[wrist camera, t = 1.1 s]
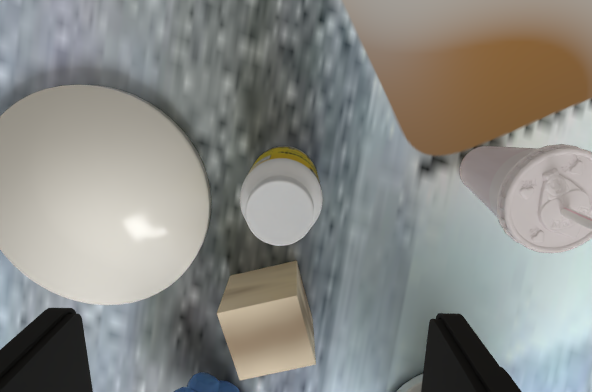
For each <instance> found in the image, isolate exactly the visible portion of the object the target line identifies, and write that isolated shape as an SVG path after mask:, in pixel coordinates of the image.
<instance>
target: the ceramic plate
mask: <svg viewBox="0 0 592 392" xmlns="http://www.w3.org/2000/svg"><path fill="white" fill-rule="evenodd" d="M210 217H211V192H210V185H209V181H208V177H207V173H206V170H205V167H204V165H203V162H202V160H201V158H200V156H199V154H198V152H197V150H196V148H195V147H194V145H193V144H192V142H191V141H190V139H189V138H188V137H187V135H186V134H185V132H184V131H183V130H182V129H181V128H180V127H179V126H178V125H177V124H176V123H175V122H174V121H173V120H172V119H171V118H170V117H169V116H167V115H166V114H165V113H164V112H163V111H161V110H160V109H158V108H157V107H155V106H154V105H152V104H151V103H149V102H148V101H146V100H144V99H142V98H140V97H138V96H136V95H133V94H130V93H128V92H125V91H122V90H119V89H114V88H110V87H105V86H96V85H63V86H57V87H52V88H47V89H44V90H41V91H38V92H35V93H32V94H30V95H28V96H27V97H25V98H23V99H21V100H19V101H18V102H16V103H15V104H14V105H12V106H11V107H10V108H8V109H7V110H6V111H5V112H4V113H3V114H2V115H1V116H0V250H1V251H2V252H3V254H4V255H5V256H6V257H7V258H8V259H9V260H10V262H11V263H12V264H13V265H14V266H15V267H16V268H17V269H19V270H20V271H21V272H22V273H23V274H24V275H25V276H27V277H28V278H30V279H31V280H32V281H34V282H35V283H37V284H38V285H40V286H42V287H43V288H45V289H47V290H49V291H51V292H53V293H55V294H58V295H60V296H62V297H65V298H68V299H72V300H75V301H78V302H83V303H89V304H98V305H120V304H126V303H132V302H136V301H139V300H143V299H146V298H148V297H151V296H153V295H155V294H157V293H159V292H161V291H162V290H164V289H166V288H167V287H169V286H170V285H171V284H173V283H174V282H175V281H176V280H177V279H179V278H180V277H181V275H182V274H183V273H184V272H185V271H186V270H187V269H188V268H189V266H190V265H191V263H192V262H193V260H194V259H195V257H196V255H197V254H198V252H199V250H200V248H201V246H202V244H203V242H204V240H205V237H206V234H207V231H208V228H209V223H210Z"/></svg>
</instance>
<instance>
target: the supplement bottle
mask: <svg viewBox="0 0 592 392" xmlns="http://www.w3.org/2000/svg"><path fill="white" fill-rule="evenodd" d="M322 203H323V198H322V189H321V185H320V182H319V178H318V174H317V171H316V168H315V166H314V164H313V162H312V161H311V159H310V158H309V157H308V156H307V155H306V154H305V153H304V152H302V151H301V150H299V149H296V148H294V147H289V146H278V147H274V148H271V149H269V150H267V151H266V152H264V153H263V154H262V155H260V156H259V158H258V159H257V160H256V161H255V163H254V164H253V166H252V168H251V170H250V171H249V173H248V175H247V177H246V178H245V180H244V182H243V185H242V188H241V192H240V207H241V211H242V214H243V216H244V218H245V220H246V222H247V224H248V226H249V228H250V230H251V231H252V233H253V234H254V235H255V236H256V237H257V238H258V239H260V240H261V241H263V242H265V243H268V244H271V245H276V246H284V245H290V244H293V243H295V242H297V241H299V240H300V239H302V238H303V237H304V236H305V235H306V234H307V233H308V231H309V230H310V228H311V227H312V226H313V225H314V223H315V222H316V221H317V219H318V217H319V215H320V212H321V209H322Z"/></svg>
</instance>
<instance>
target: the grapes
mask: <svg viewBox="0 0 592 392" xmlns="http://www.w3.org/2000/svg"><path fill="white" fill-rule="evenodd" d="M174 392H239V389H238V388H237V387H236V386H235V385H234V384H232V383H230V382H228V381H218V380H217V379H216V378H215V377H214V376H212V375H211V374H209V373H203V372H200V373H198V374H195V375H193V377H192V378H191V379H190V381H189V382H188V385H187V387H182V388H180V389H177V390H175V391H174Z"/></svg>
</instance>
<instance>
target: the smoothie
mask: <svg viewBox="0 0 592 392" xmlns="http://www.w3.org/2000/svg"><path fill="white" fill-rule="evenodd" d="M460 177H461V180H462V182H463V183H464V184H465V185H466V186H467V187H468V188H469V189H470V190H471V191H472V192H473V193H474V194H475V195H476V196H477V197H478V198H479V199H480V200H481V201H482V202H483V203H484V204H485V205H486V206H487V207H488V208H489V209H490V210H491V211H492V212H493V213H494V214H495V215H496V216H497V218H498V219H499V223H500V224H501V226H502V228H503V229H504V231H505V233H506V234H507V235H509V236H510V237H511V238H512V239H513V240H514V241H516V242H518V243H520V244H522V245H523V246H525V247H527V248H529V249H531V250H534V251H537V252H542V253H558V252H564V251H568V250H571V249H574V248H576V247H578V246H580V245H582V244H584V243H585V242H587V241H588V240H590V239H591V238H592V152H590V151H587V150H584V149H580V148H578V147H576V146H570V145H564V144H559V145H549V146H545V147H542V148H538V149H535V148H515V147H495V146H481V147H477V148H475V149H473V150H471V151H470V152H469V153H468V154H467V155H466V156H465V157H464V158H463V160H462V162H461V165H460Z"/></svg>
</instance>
